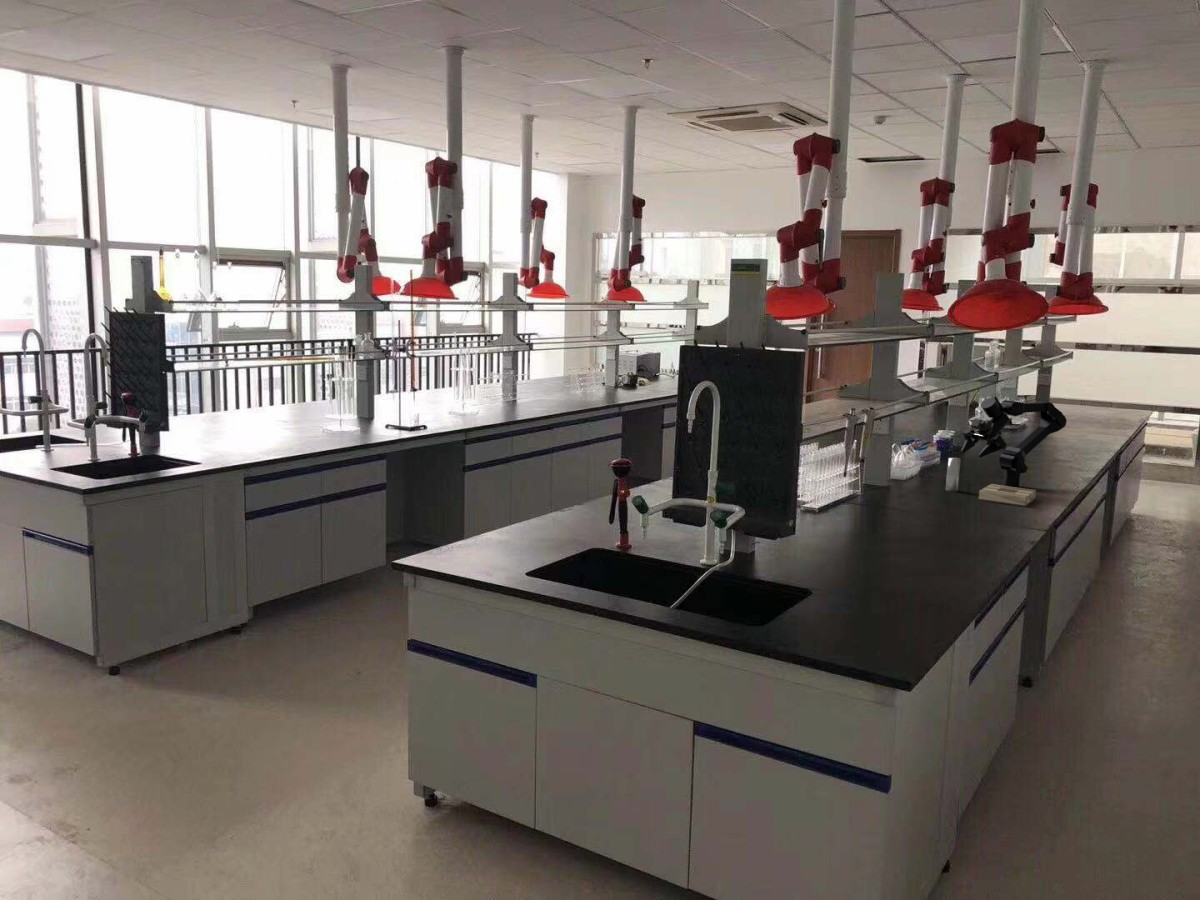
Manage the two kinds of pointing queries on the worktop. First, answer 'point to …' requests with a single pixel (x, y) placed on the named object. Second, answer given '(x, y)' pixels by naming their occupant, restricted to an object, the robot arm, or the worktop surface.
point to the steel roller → (952, 474)
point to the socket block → (1007, 495)
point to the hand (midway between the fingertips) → (970, 454)
